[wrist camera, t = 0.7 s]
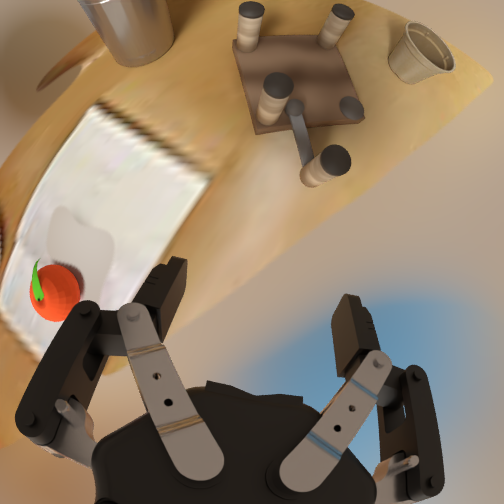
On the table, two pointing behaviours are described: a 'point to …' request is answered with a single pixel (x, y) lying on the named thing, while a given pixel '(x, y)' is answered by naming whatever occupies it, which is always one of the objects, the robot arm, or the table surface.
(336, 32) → the stool
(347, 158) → the swing leg
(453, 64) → the flower pot
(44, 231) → the table surface
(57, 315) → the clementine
